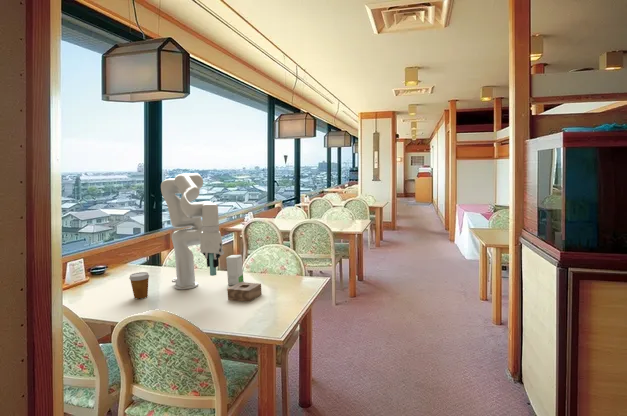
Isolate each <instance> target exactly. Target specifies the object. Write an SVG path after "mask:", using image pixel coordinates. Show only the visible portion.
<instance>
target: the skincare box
mask: <svg viewBox="0 0 627 416" xmlns="http://www.w3.org/2000/svg"><path fill="white" fill-rule="evenodd" d="M225 259H226V260H225V261H226V272H227V273H226V274H227V285H228V286H234V285H236V284H238V283H240V282H244V268H243V256H242V254H231V255H229V256H227V257H225Z"/></svg>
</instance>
